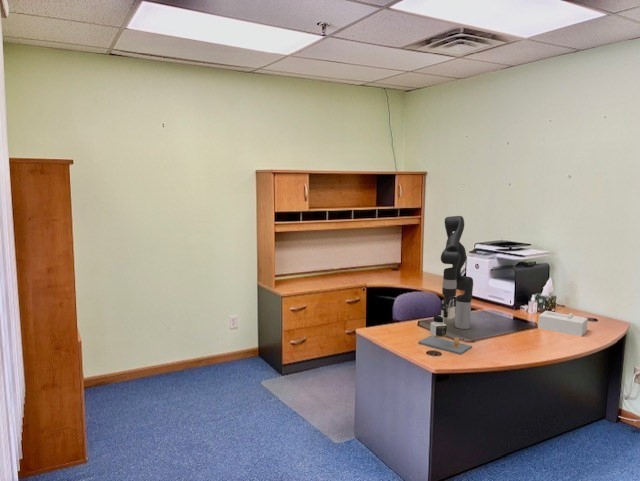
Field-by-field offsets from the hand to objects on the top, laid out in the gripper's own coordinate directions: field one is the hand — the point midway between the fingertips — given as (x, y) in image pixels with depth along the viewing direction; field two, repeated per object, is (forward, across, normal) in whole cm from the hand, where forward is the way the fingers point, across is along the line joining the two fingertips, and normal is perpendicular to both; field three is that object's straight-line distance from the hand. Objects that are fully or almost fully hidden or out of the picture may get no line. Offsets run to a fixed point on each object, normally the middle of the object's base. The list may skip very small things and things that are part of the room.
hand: (448, 316), depth 268 cm
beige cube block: (0, 0, 0) cm, 0 cm away
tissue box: (+18, -81, +37) cm, 90 cm away
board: (+18, 0, -2) cm, 18 cm away
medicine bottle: (+18, -15, -14) cm, 27 cm away
